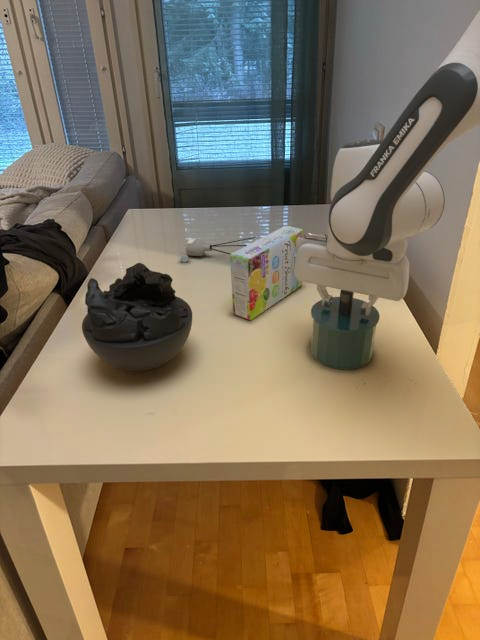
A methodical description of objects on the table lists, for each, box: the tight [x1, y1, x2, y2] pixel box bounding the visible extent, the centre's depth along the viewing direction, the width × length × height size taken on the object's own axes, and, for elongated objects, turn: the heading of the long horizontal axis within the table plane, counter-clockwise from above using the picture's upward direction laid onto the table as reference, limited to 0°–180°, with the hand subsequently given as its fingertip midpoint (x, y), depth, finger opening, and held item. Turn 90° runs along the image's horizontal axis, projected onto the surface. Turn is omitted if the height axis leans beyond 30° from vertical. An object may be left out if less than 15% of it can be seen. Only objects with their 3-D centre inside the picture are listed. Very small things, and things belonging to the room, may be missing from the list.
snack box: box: [229, 225, 304, 321], centre depth 107 cm, size 21×6×15 cm, turn 141°
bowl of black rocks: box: [81, 262, 193, 372], centre depth 86 cm, size 20×20×19 cm
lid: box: [310, 289, 380, 333], centre depth 86 cm, size 13×13×6 cm
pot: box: [310, 319, 377, 371], centre depth 90 cm, size 12×12×8 cm
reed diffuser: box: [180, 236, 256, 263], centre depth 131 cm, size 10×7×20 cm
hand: (345, 309), depth 87 cm, fingers open, 6 cm apart
